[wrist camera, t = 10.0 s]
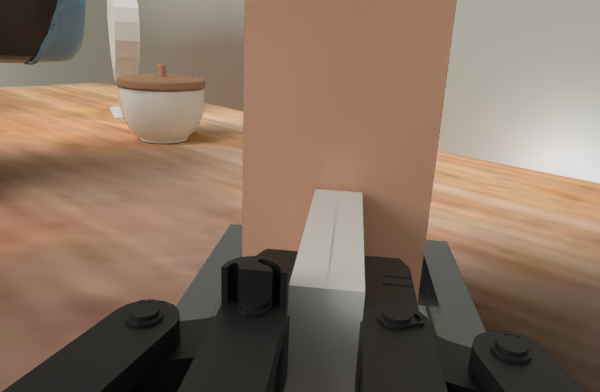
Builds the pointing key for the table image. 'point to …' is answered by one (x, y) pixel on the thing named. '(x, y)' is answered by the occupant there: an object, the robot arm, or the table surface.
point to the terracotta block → (343, 117)
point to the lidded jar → (161, 105)
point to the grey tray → (431, 300)
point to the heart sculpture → (123, 40)
